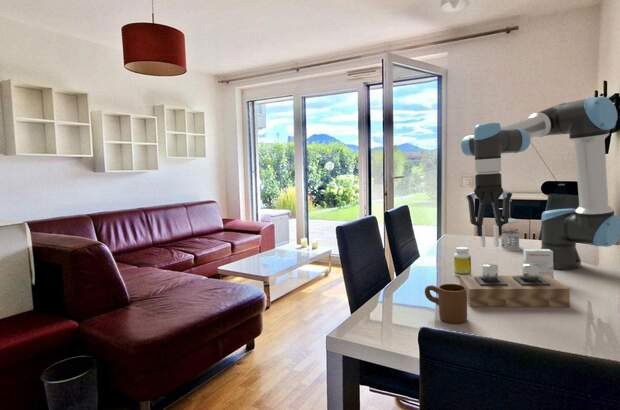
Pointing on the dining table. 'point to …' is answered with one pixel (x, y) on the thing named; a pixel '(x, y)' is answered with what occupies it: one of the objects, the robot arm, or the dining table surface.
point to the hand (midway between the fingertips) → (489, 245)
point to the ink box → (540, 260)
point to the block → (516, 292)
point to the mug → (450, 302)
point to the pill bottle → (462, 262)
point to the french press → (508, 233)
